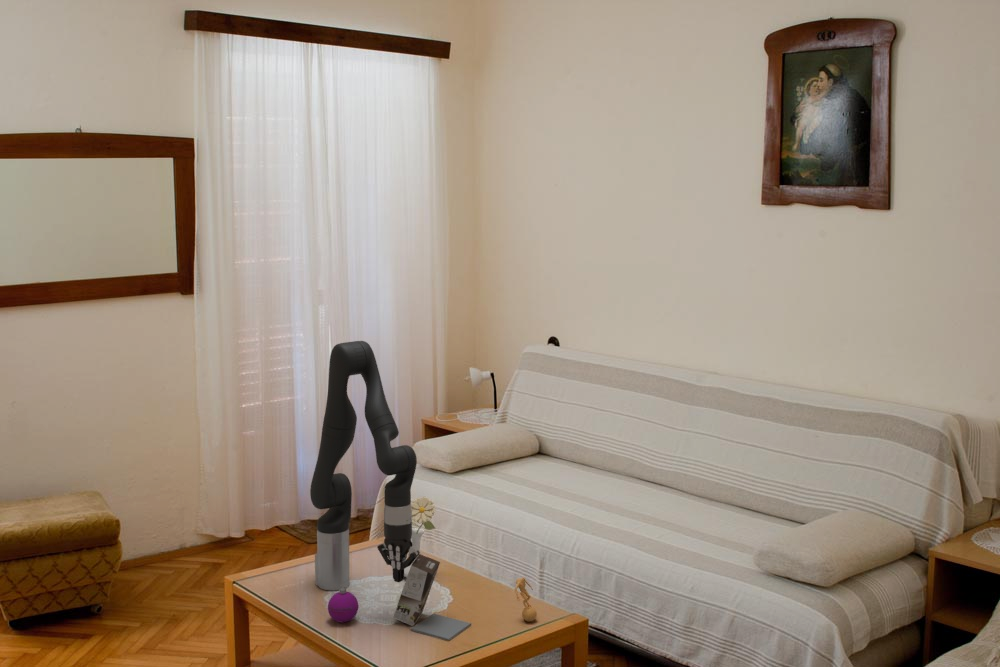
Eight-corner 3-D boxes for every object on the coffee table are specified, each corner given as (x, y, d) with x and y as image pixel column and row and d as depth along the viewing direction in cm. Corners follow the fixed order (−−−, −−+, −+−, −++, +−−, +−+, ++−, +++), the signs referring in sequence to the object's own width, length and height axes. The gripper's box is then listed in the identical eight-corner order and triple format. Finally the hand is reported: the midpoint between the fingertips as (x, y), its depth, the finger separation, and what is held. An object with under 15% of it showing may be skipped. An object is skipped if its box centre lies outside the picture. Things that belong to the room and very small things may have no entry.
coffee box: (414, 627, 268) (432, 574, 265) (392, 617, 269) (410, 564, 266) (423, 613, 277) (441, 561, 274) (401, 604, 278) (419, 552, 275)
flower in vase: (389, 576, 303) (388, 496, 299) (413, 564, 312) (413, 487, 308) (423, 586, 295) (423, 504, 292) (446, 574, 305) (447, 494, 301)
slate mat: (410, 630, 266) (410, 628, 266) (433, 615, 275) (433, 613, 275) (448, 641, 260) (448, 638, 260) (471, 625, 269) (471, 623, 269)
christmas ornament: (362, 616, 275) (362, 581, 273) (352, 628, 267) (351, 593, 265) (334, 613, 276) (334, 578, 275) (323, 626, 268) (322, 590, 267)
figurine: (528, 628, 268) (529, 585, 266) (508, 623, 271) (509, 581, 269) (542, 616, 275) (543, 575, 273) (523, 612, 278) (523, 570, 276)
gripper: (369, 519, 270) (370, 580, 273) (409, 527, 264) (410, 590, 266) (386, 511, 277) (387, 572, 279) (426, 519, 270) (426, 581, 273)
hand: (398, 581), depth 273 cm, fingers closed
